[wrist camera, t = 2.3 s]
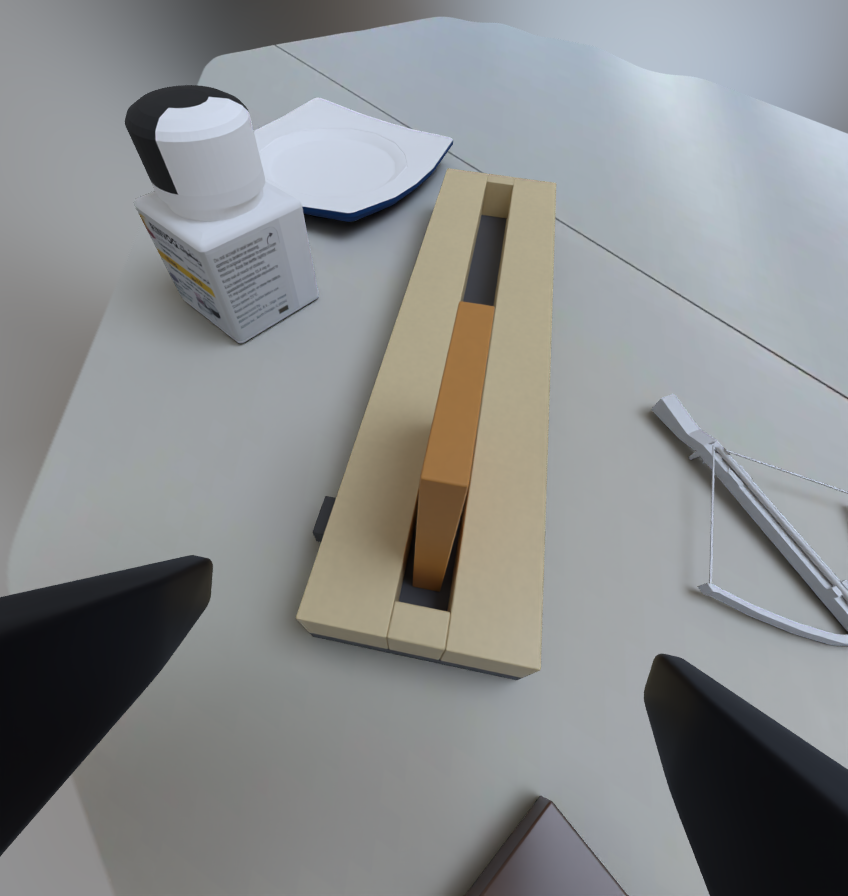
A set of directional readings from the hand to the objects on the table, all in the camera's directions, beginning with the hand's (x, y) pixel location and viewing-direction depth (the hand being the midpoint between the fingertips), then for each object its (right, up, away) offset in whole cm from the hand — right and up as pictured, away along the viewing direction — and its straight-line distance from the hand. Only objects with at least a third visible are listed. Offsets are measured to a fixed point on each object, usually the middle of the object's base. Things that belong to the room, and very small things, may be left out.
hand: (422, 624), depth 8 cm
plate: (-10, +33, +37) cm, 51 cm away
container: (-14, +15, +26) cm, 33 cm away
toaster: (+3, +10, +23) cm, 25 cm away
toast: (+1, 0, +15) cm, 15 cm away
